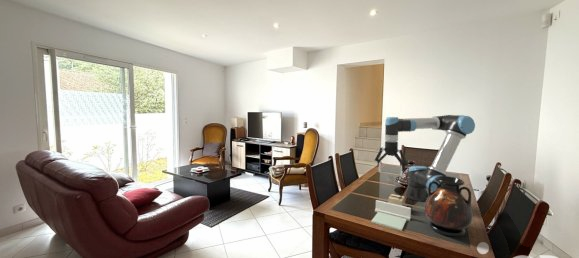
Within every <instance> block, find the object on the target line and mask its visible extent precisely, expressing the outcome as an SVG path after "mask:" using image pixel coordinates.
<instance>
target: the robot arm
mask: <svg viewBox="0 0 579 258" xmlns="http://www.w3.org/2000/svg"><path fill="white" fill-rule="evenodd" d="M384 127H385V131H384V133H385V134H384V140H385V141H384V147H380V148H379V151H378V153H377V155H376V157H375V158H374V161H375V162H377V167H378V173H382V164H383V163H382V160H383V159H384V158H386V156H391V157H395V158H396V159H397V161H398V163H399V164H401V165H400V172H399V173H400V174H399V176H400V177H402V176H404V171H405V169H406V166H408V165H409V162H408V160H407V158H406V156H405V154H404V150H403V149H398V147H399V142H398V141H399V133H400V132H401V133H403V132H405V133H406V132H409V133H410V132H415V131H416V130H423V129H426V130H427V129H432V130H434V131H437V130H439V131H444V132H445V134H446V135H445V137H444V139H443V141H442V143H441V145H440V146H439V149H438V152H437V154H436V156H435V157H434V160H433V161H432V163H431V165H430V166H428V167H427V166H424V165H412V166H410V167H409V168H408V179H407V180H408V182H407V184H408V185H407V187H406V189H405V192H404V193H405V194H404V197H405V198H407V199H409V200H413V201H418V202H426V199H427V197H428V187H429V183H430V182H431V181H435V182H437V183H438V184H439V182H438V181H436V180H435V178H436V177H438V176H448V175H447V173H446V172H447V170H448V167H449V165H450V163H451V161H452V159H453V157H454V155H455V153H456V151H457V149H458V147H459V145H460V143H461V141H462V140H463V139H466V137H467V135H470V134H472V133H473V132H474V131H475V128H476V123H475V121H474V118H472V117H471V116H469V115H463V114H459V115H458V114H457V115H454V114H445V115H438V116H435V115H433V116H432V117H418V118H416V117H415V118H399V117H398V116H397V117H396V116H388V117H386V118H385V126H384ZM383 152H385V153H384V154H383V155H382V153H383ZM398 153H399V154H400V156H399V154H398ZM436 189H437V185H436V184H432V185H431V192H433V191H435V190H436Z"/></svg>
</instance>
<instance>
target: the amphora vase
mask: <svg viewBox="0 0 579 258" xmlns="http://www.w3.org/2000/svg"><path fill="white" fill-rule="evenodd" d="M435 180H436V181H438V182H439V184H438V183H437V182H435V181H431V182H430V183H429V187H428V189H427V193H428V197H427V199H426V201H424V208H423V209H424V213H425V216H426V217H427V219H428V220H429V221H428V226H429V227H430V228H431V230H433V231H434V232H436V233H438V234H440V235H444V236H448V237H454V238H457V237H458V238H459V237H462V236H465V234H466V229H467V228H469V226H470V225H471V224H472V222H473V218H474V214H473V213H474V212H473V209H472V207H471V206H472V190H471V189H470V188H469V187H467V186H464V185H465V183H466V182H465V181H464V180H463V179H461V178H458V177H455V176H448V175H447V176H438V177H436V178H435ZM432 184H436V185H437V189H436V190H435V191H431V185H432ZM464 190H465V191H467V193H468V194H467V195H468V197H467V198H466V196H464V194H463V193H462V191H464Z"/></svg>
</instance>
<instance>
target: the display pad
mask: <svg viewBox="0 0 579 258" xmlns="http://www.w3.org/2000/svg"><path fill="white" fill-rule="evenodd" d="M371 223H372V224H376V225H380V226H383V227H386V228H390V229H393V230H397V231H400V232H403V229H404V226H405V224H406V223H407V220H406V219H404V218H400V217H396V216H392V215H388V214H384V213H380V212H376V214H375V215H374V217H373V218H372V219H371Z"/></svg>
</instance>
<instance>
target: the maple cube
mask: <svg viewBox="0 0 579 258" xmlns="http://www.w3.org/2000/svg"><path fill="white" fill-rule="evenodd" d="M387 203H391V204H396V205H400V206H405V195H404V196H403V195H399V194H393V193H390V195H389V197H388V200H387Z"/></svg>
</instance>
